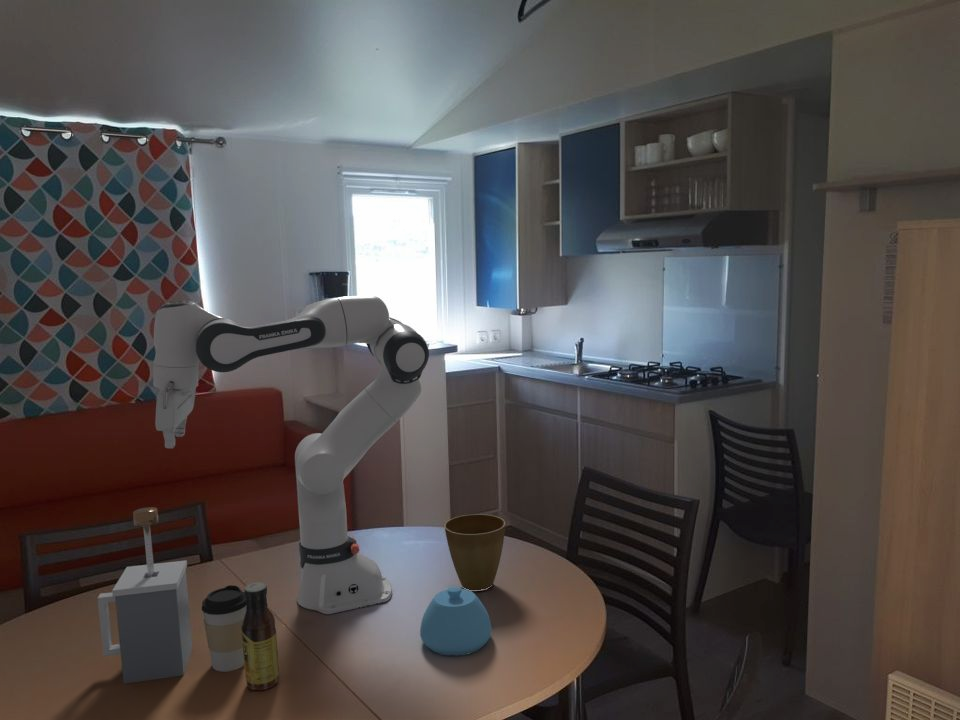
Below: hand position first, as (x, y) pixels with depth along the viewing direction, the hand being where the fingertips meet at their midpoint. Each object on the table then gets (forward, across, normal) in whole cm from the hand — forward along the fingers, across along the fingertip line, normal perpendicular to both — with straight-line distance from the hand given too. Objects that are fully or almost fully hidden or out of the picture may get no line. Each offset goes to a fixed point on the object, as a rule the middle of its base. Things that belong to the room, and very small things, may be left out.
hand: (175, 441), depth 159 cm
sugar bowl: (+37, -19, -61) cm, 73 cm away
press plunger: (+32, -14, 0) cm, 35 cm away
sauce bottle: (+40, -26, -22) cm, 53 cm away
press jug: (+43, -15, +1) cm, 45 cm away
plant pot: (+37, +7, -70) cm, 79 cm away
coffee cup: (+42, -17, -15) cm, 47 cm away
